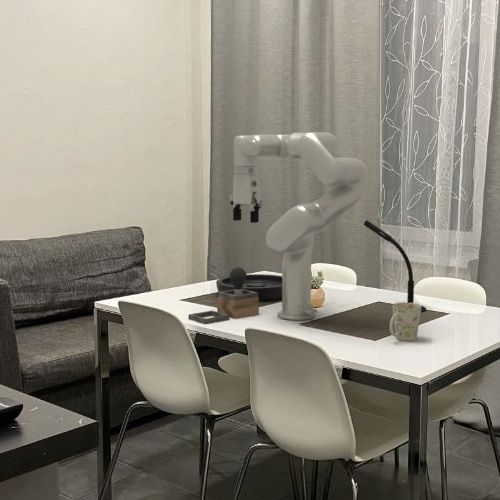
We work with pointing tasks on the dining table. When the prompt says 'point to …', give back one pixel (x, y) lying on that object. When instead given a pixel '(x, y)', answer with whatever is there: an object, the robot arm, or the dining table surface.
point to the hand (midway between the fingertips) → (245, 221)
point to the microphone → (387, 237)
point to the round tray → (256, 286)
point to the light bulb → (238, 279)
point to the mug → (405, 321)
